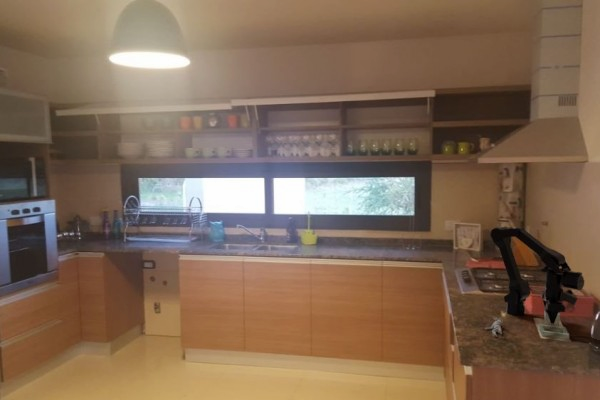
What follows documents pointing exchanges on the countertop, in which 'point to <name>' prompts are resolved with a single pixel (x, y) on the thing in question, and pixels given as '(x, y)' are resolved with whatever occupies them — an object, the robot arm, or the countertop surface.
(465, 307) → the countertop surface
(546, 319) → the engine block
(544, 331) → the chassis
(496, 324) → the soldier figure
